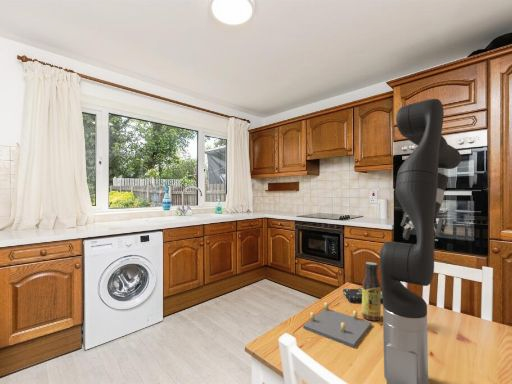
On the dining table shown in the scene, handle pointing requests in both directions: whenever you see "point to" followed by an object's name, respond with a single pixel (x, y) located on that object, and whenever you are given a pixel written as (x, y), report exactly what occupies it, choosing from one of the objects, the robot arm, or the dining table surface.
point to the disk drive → (355, 295)
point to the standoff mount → (338, 326)
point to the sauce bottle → (371, 293)
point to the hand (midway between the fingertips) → (416, 242)
